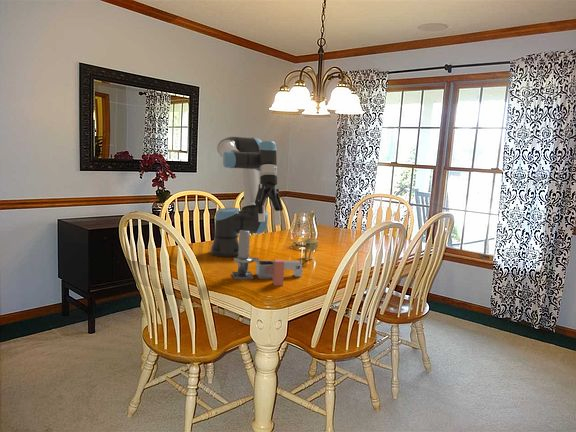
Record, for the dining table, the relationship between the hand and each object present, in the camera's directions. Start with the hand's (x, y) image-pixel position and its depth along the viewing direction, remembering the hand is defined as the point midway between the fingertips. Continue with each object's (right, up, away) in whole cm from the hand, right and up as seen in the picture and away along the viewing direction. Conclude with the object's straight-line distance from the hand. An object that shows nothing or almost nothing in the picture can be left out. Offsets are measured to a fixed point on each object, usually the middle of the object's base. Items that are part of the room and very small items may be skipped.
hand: (269, 223), depth 195 cm
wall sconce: (+18, -19, +33) cm, 42 cm away
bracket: (+4, -23, +3) cm, 24 cm away
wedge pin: (+4, -25, -9) cm, 27 cm away
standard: (-11, -23, -1) cm, 25 cm away
